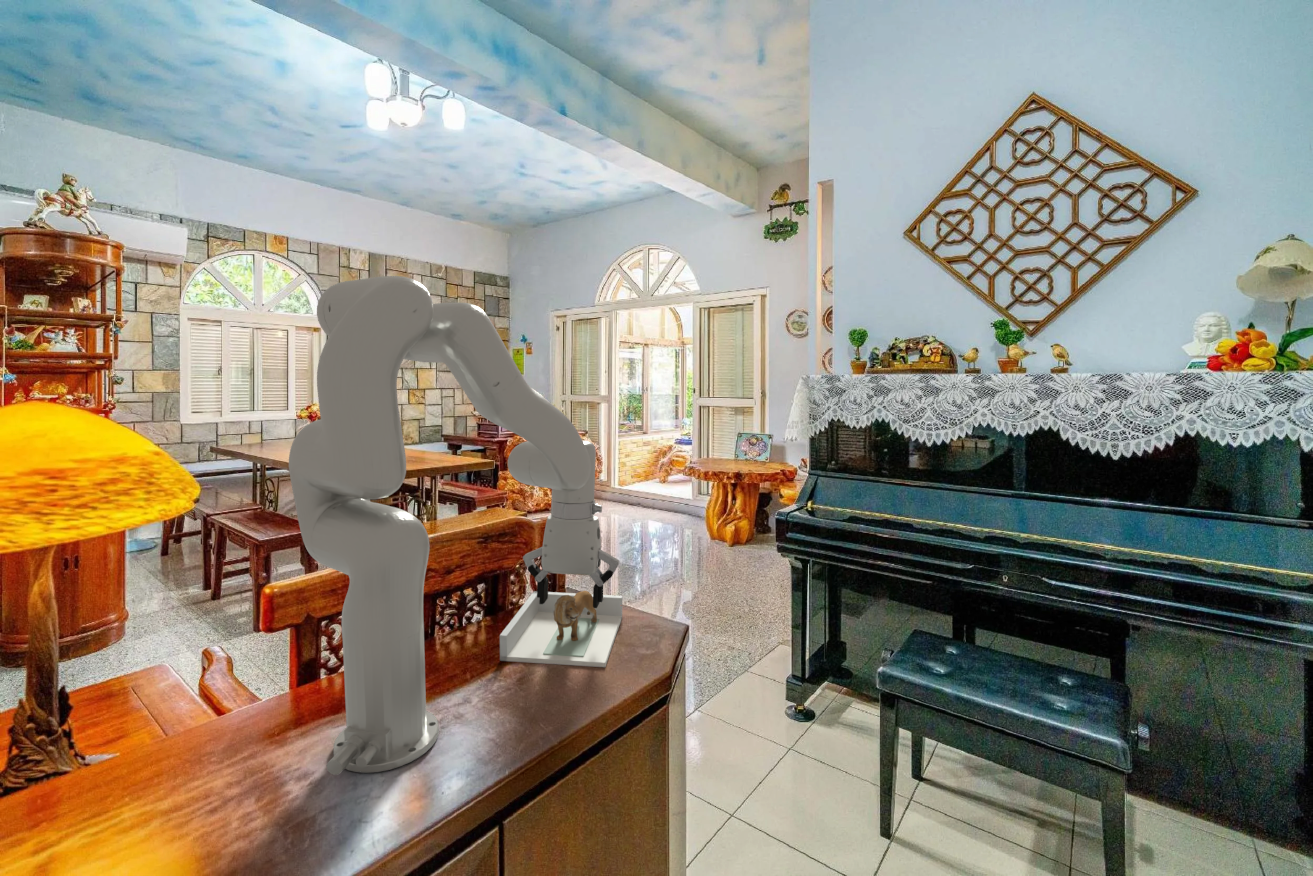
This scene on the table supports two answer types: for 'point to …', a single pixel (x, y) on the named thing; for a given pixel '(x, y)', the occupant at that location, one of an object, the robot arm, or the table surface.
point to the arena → (538, 631)
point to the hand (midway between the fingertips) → (569, 603)
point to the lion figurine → (572, 612)
